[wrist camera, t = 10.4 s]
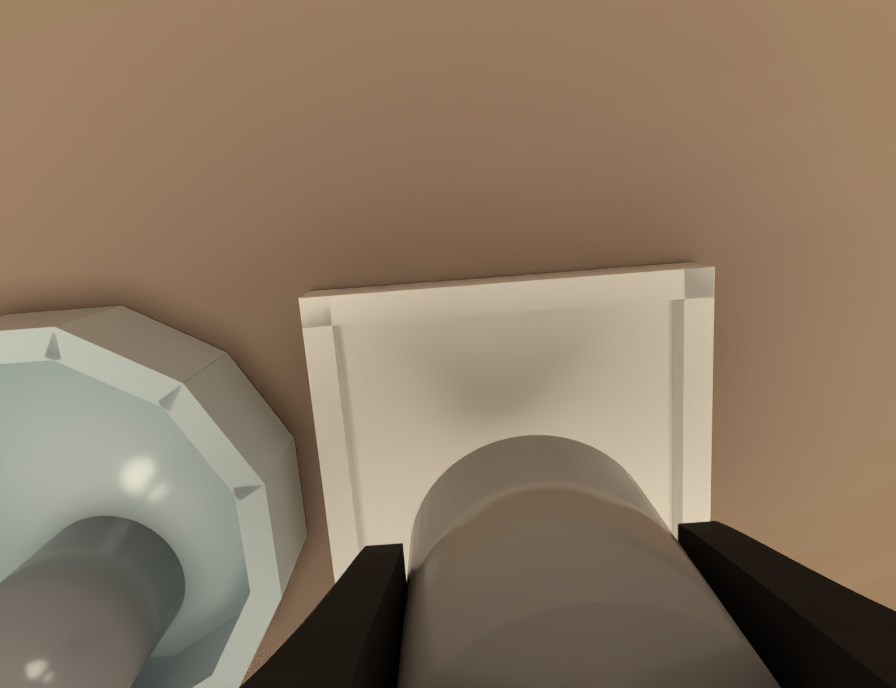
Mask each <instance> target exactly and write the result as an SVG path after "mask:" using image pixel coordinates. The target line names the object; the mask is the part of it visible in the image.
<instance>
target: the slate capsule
mask: <svg viewBox="0 0 896 688" xmlns="http://www.w3.org/2000/svg"><path fill="white" fill-rule="evenodd" d="M184 595H185V577H184V573H183V569H182V566H181V563H180V561H179V559H178V557H177V555H176V554H175V552H174V551H173V549H172V548H171V547H170V545H169V544H168V543H167V542H166V541H165V540H164V539H163V538H162V537H161V536H160V535H158V534H157V533H156V532H154V531H153V530H151V529H150V528H148V527H147V526H145V525H142V524H140V523H138V522H136V521H133V520H130V519H126V518H122V517H116V516H95V517H89V518H85V519H81V520H79V521H76V522H74V523H72V524H70V525H69V526H67V527H65V528H64V529H63V530H61V531H60V532H59V533H58V534H56V535H55V536H54V537H53V538H52V539H51V540H49V541H48V542H47V543H46V544H45V545H44V546H42V547H41V548H40V549H39V550H38V551H37V552H35V553H34V554H33V555H32V556H31V557H30V558H28V559H27V560H26V561H25V562H24V563H23V564H21V565H20V566H19V567H18V568H17V569H15V570H14V571H13V572H12V573H11V574H10V575H8V576H7V577H6V578H5V579H4V580H3V581H1V582H0V688H130V687H131V686H132V684H133V683H134V681H135V679H136V678H137V676H138V675H139V673H140V672H141V670H142V669H143V667H144V666H145V664H146V662H147V661H148V659H149V658H150V656H151V655H152V653H153V652H154V650H155V648H156V647H157V645H158V644H159V642H160V641H161V639H162V638H163V636H164V635H165V633H166V631H167V630H168V628H169V627H170V625H171V624H172V622H173V621H174V619H175V618H176V616H177V614H178V612H179V611H180V609H181V606H182V603H183V600H184Z"/></svg>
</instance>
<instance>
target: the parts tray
mask: <svg viewBox="0 0 896 688" xmlns="http://www.w3.org/2000/svg"><path fill="white" fill-rule="evenodd" d="M714 289H715V267H714V266H710V265H705V264H701V263H696V262H687V263H673V264H660V265H647V266H634V267H621V268H607V269H594V270H581V271H568V272H555V273H542V274H528V275H515V276H502V277H489V278H476V279H463V280H449V281H436V282H423V283H410V284H397V285H383V286H370V287H357V288H344V289H331V290H318V291H309V292H307V293H306V294H304V295H303V296H301V297H300V298H298V299H299V307H300V315H301V323H302V330H303V338H304V346H305V354H306V362H307V369H308V377H309V385H310V393H311V401H312V408H313V416H314V424H315V432H316V439H317V447H318V455H319V463H320V471H321V478H322V486H323V494H324V502H325V510H326V517H327V525H328V533H329V541H330V548H331V556H332V564H333V572H334V580H335V583H336V582H337V581H338V580H339V578H340V577H341V576H342V574H343V573H344V572H345V570H346V569H347V568H348V567H349V565H350V564H351V563H352V561H353V560H354V559H355V557H356V556H357V555H358V554H359V552H360V551H361V550H362V549H363V548H364V547H365V546H370V545H384V544H398V543H403V550H404V561H405V571H406V581H407V571H408V561H409V550H410V541H411V532H412V528H413V524H414V521H415V517H416V514H417V512H418V510H419V507H420V505H421V503H422V501H423V499H424V498H425V496H426V494H427V493H428V491H429V489H430V488H431V487H432V486H433V484H434V483H435V482H436V481H437V479H438V478H439V477H440V476H441V475H442V474H443V473H444V472H445V471H446V470H447V469H448V468H449V467H450V466H452V465H453V464H454V463H456V462H457V461H458V460H460V459H461V458H462V457H464V456H465V455H467V454H469V453H471V452H473V451H474V450H476V449H478V448H480V447H483V446H485V445H488V444H490V443H493V442H496V441H499V440H503V439H507V438H511V437H518V436H526V435H549V436H557V437H563V438H568V439H572V440H576V441H579V442H581V443H584V444H587V445H589V446H592V447H594V448H596V449H597V450H599V451H601V452H603V453H605V454H607V455H608V456H609V457H611V458H612V459H613V460H615V461H616V462H617V463H619V464H620V465H621V466H622V467H623V468H624V469H625V470H626V471H627V472H628V473H629V474H630V475H631V476H632V477H633V479H634V480H635V481H636V483H637V484H638V485H639V487H640V488H641V489H642V491H643V492H644V494H645V495H646V497H647V498H648V499H649V501H650V502H651V504H652V505H653V506H654V508H655V509H656V511H657V512H658V514H659V515H660V516H661V518H662V519H663V521H664V522H665V524H666V525H667V526H668V528H669V529H670V531H671V532H672V534H673V535H674V536H675V538H676V539H677V541H678V524H680V523H694V522H708V521H710V504H711V451H712V397H713V343H714Z"/></svg>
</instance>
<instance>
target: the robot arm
mask: <svg viewBox="0 0 896 688" xmlns="http://www.w3.org/2000/svg"><path fill="white" fill-rule="evenodd" d="M678 542H679V543H680V545H681V546H682V548H683V549H684V551H685V552H686V553H687V555H688V556H689V558H690V559H691V561H692V562H693V563H694V565H695V566H696V568H697V569H698V570H699V572H700V573H701V575H702V576H703V578H704V579H705V580H706V582H707V583H708V585H709V586H710V588H711V589H712V590H713V592H714V593H715V595H716V596H717V597H718V599H719V600H720V602H721V603H722V605H723V606H724V607H725V609H726V610H727V612H728V613H729V615H730V616H731V617H732V619H733V620H734V622H735V623H736V624H737V626H738V627H739V629H740V630H741V632H742V633H743V634H744V636H745V637H746V639H747V640H748V642H749V643H750V644H751V646H752V647H753V649H754V650H755V652H756V653H757V654H758V656H759V657H760V659H761V660H762V661H763V663H764V664H765V666H766V667H767V669H768V670H769V671H770V673H771V674H772V676H773V677H774V679H775V680H776V681H777V683H778V684H779V686H780V688H896V611H894V610H892V609H890V608H887V607H885V606H883V605H881V604H879V603H877V602H875V601H872V600H870V599H868V598H866V597H864V596H862V595H860V594H858V593H856V592H854V591H852V590H850V589H848V588H846V587H844V586H842V585H840V584H838V583H836V582H834V581H832V580H830V579H828V578H826V577H824V576H822V575H821V574H819V573H817V572H815V571H813V570H811V569H809V568H807V567H805V566H803V565H801V564H800V563H798V562H796V561H794V560H792V559H790V558H788V557H786V556H785V555H783V554H781V553H779V552H777V551H775V550H773V549H771V548H770V547H768V546H766V545H764V544H762V543H760V542H758V541H756V540H755V539H753V538H751V537H749V536H747V535H745V534H743V533H741V532H739V531H737V530H735V529H733V528H731V527H729V526H727V525H724V524H722V523H720V522H717V521H708V522H694V523H680V524H678ZM406 583H407V581H406V571H405V561H404V550H403V543H398V544H384V545H370V546H365V547H364V548H363V549H362V550H361V551H360V552H359V554H358V555H357V556H356V557H355V559H354V560H353V561H352V563H351V564H350V565H349V567H348V568H347V569H346V570H345V572H344V573H343V574H342V576H341V577H340V578H339V580H338V581H337V582H336V583H335V585H334V586H333V587H332V588H331V590H330V591H329V592H328V593H327V595H326V596H325V597H324V598H323V599H322V601H321V602H320V603H319V604H318V605H317V607H316V608H315V609H314V610H313V611H312V612H311V614H310V615H309V616H308V617H307V618H306V620H305V621H304V622H303V623H302V624H301V625H300V627H299V628H298V629H297V630H296V631H295V632H294V633H293V634H292V635H291V636H290V637H289V638H288V639H287V641H286V642H285V643H284V644H283V645H282V646H281V647H280V648H279V649H278V650H277V651H276V652H275V653H274V654H273V655H272V656H271V658H270V659H269V660H268V661H267V662H266V663H265V664H264V665H263V666H262V667H261V668H260V669H259V670H258V671H257V672H256V673H255V674H253V675H252V676H251V677H250V678H249V679H248V680H247V681H246V682H245V683H244V684H243V685H242V686H240V687H239V688H397V679H398V669H399V658H400V647H401V636H402V625H403V615H404V604H405V593H406Z"/></svg>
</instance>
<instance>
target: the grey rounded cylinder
mask: <svg viewBox="0 0 896 688" xmlns="http://www.w3.org/2000/svg"><path fill="white" fill-rule="evenodd" d="M397 688H780V686H779V684H778V683H777V681H776V680H775V679H774V677H773V676H772V674H771V673H770V671H769V670H768V669H767V667H766V666H765V664H764V663H763V661H762V660H761V659H760V657H759V656H758V654H757V653H756V652H755V650H754V649H753V647H752V646H751V644H750V643H749V642H748V640H747V639H746V637H745V636H744V634H743V633H742V632H741V630H740V629H739V627H738V626H737V624H736V623H735V622H734V620H733V619H732V617H731V616H730V615H729V613H728V612H727V610H726V609H725V607H724V606H723V605H722V603H721V602H720V600H719V599H718V597H717V596H716V595H715V593H714V592H713V590H712V589H711V588H710V586H709V585H708V583H707V582H706V580H705V579H704V578H703V576H702V575H701V573H700V572H699V570H698V569H697V568H696V566H695V565H694V563H693V562H692V561H691V559H690V558H689V556H688V555H687V553H686V552H685V551H684V549H683V548H682V546H681V545H680V543H679V542H678V541H677V539H676V538H675V536H674V535H673V534H672V532H671V531H670V529H669V528H668V526H667V525H666V524H665V522H664V521H663V519H662V518H661V516H660V515H659V514H658V512H657V511H656V509H655V508H654V506H653V505H652V504H651V502H650V501H649V499H648V498H647V497H646V495H645V494H644V492H643V491H642V489H641V488H640V487H639V485H638V484H637V483H636V481H635V480H634V479H633V477H632V476H631V475H630V474H629V473H628V472H627V471H626V470H625V469H624V468H623V467H622V466H621V465H620V464H619V463H617V462H616V461H615V460H613V459H612V458H611V457H609V456H608V455H607V454H605V453H603V452H601V451H599V450H597V449H596V448H594V447H592V446H589V445H587V444H584V443H581V442H579V441H576V440H572V439H568V438H563V437H557V436H549V435H526V436H518V437H511V438H507V439H503V440H499V441H496V442H493V443H490V444H488V445H485V446H483V447H480V448H478V449H476V450H474V451H473V452H471V453H469V454H467V455H465V456H464V457H462V458H461V459H460V460H458V461H457V462H456V463H454V464H453V465H452V466H450V467H449V468H448V469H447V470H446V471H445V472H444V473H443V474H442V475H441V476H440V477H439V478H438V479H437V481H436V482H435V483H434V484H433V486H432V487H431V488H430V489H429V491H428V493H427V494H426V496H425V498H424V499H423V501H422V503H421V505H420V507H419V510H418V512H417V514H416V517H415V521H414V524H413V528H412V532H411V541H410V550H409V561H408V571H407V583H406V593H405V604H404V615H403V625H402V636H401V647H400V658H399V669H398V679H397Z"/></svg>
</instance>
